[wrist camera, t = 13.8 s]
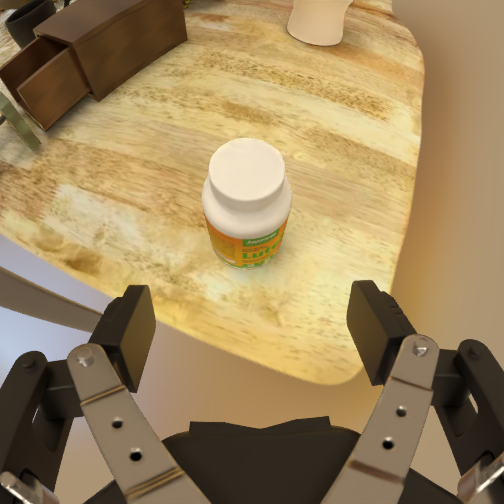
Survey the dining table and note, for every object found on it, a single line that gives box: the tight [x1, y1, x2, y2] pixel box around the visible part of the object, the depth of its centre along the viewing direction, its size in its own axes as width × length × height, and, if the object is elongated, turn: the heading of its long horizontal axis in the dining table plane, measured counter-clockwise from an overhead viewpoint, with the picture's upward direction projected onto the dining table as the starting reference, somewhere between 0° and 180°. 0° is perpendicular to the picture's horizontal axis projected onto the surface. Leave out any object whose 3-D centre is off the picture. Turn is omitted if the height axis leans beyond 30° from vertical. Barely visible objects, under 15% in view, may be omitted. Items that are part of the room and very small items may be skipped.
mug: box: [5, 0, 70, 49], centre depth 32 cm, size 8×12×10 cm
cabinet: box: [33, 0, 187, 102], centre depth 29 cm, size 15×13×9 cm
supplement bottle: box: [201, 138, 292, 270], centre depth 20 cm, size 5×5×10 cm
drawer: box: [0, 36, 91, 151], centre depth 26 cm, size 19×11×7 cm, turn 142°
